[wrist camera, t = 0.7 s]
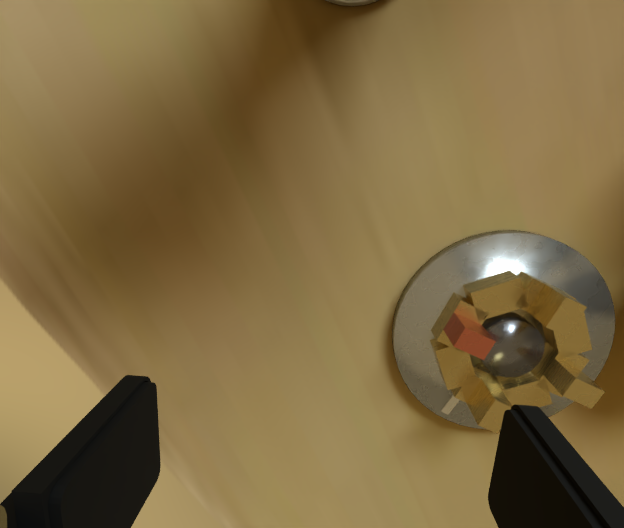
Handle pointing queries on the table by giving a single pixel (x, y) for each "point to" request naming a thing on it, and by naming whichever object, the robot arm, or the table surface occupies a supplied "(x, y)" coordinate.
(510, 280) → the wooden block ring
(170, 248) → the table surface
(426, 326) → the cap plate
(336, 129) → the table surface
